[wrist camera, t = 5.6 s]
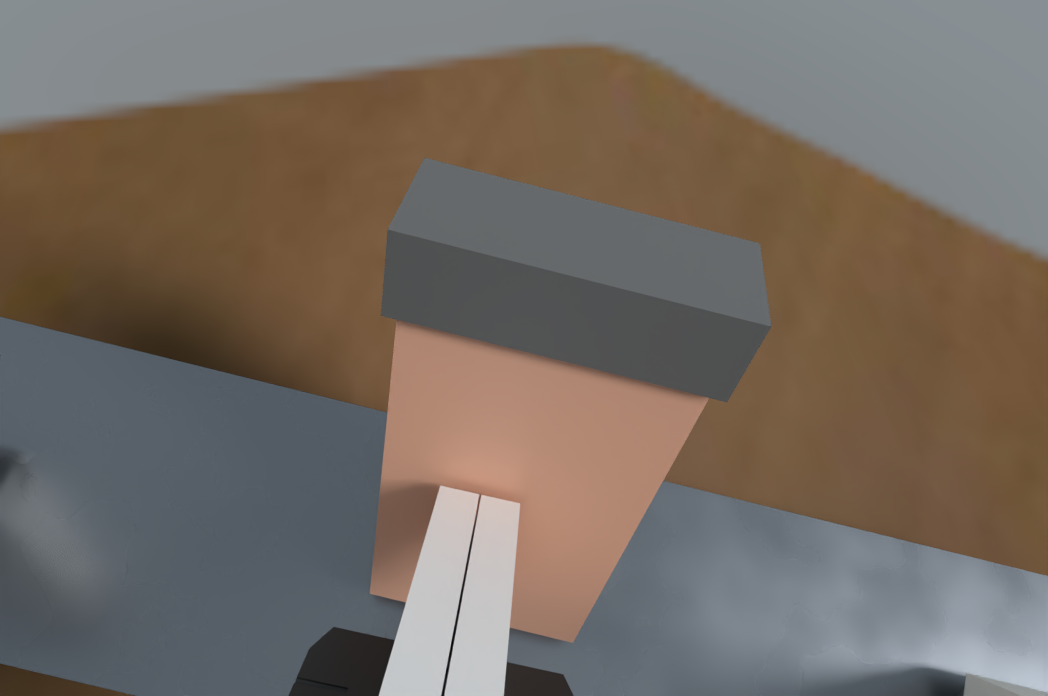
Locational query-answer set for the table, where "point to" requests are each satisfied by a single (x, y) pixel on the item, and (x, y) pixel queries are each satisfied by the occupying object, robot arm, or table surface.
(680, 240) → the lever middle
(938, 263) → the table surface
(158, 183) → the table surface
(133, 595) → the switch panel
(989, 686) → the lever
